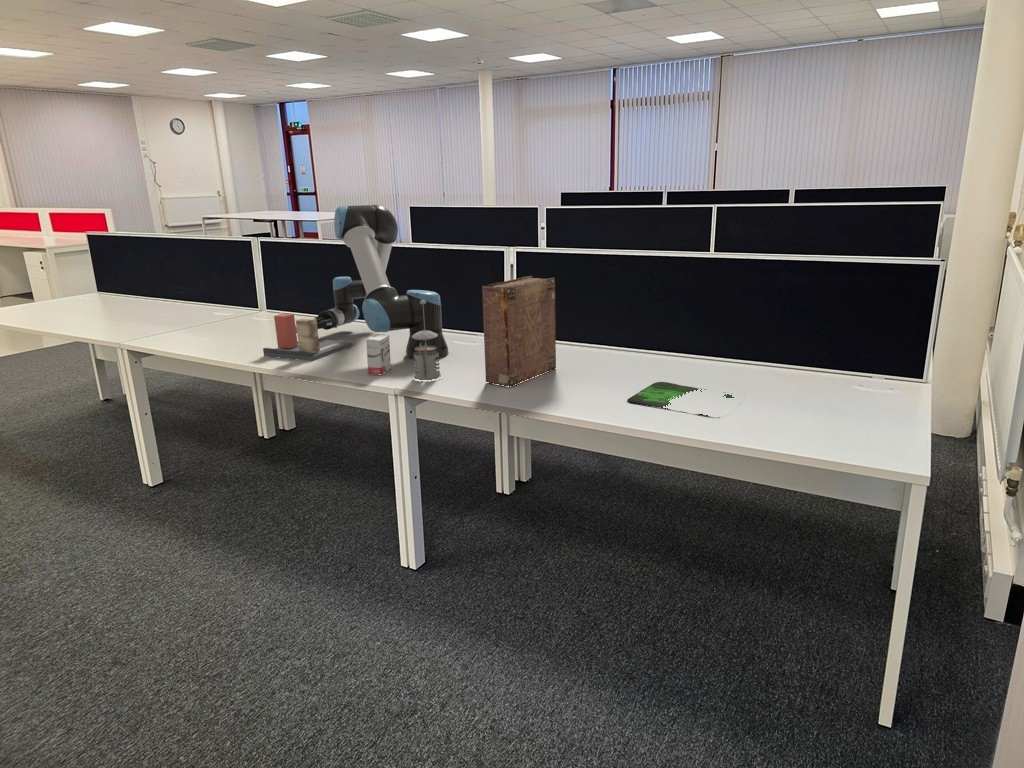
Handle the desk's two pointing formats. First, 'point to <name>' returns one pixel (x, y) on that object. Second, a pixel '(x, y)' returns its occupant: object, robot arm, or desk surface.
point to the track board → (294, 353)
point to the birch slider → (308, 335)
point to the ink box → (378, 354)
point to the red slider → (285, 330)
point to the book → (519, 329)
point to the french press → (426, 355)
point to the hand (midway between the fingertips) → (290, 330)
